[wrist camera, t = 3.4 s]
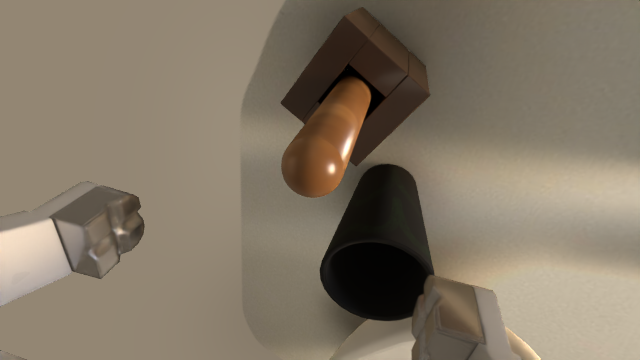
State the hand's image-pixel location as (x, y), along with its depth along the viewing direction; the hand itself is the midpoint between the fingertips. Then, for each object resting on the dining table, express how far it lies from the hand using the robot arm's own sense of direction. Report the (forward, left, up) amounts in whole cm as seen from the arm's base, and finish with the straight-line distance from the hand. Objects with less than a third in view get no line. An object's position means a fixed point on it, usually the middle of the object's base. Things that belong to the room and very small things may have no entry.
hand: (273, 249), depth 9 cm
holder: (0, 0, -22) cm, 22 cm away
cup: (+9, -7, -22) cm, 25 cm away
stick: (0, 0, -22) cm, 22 cm away
